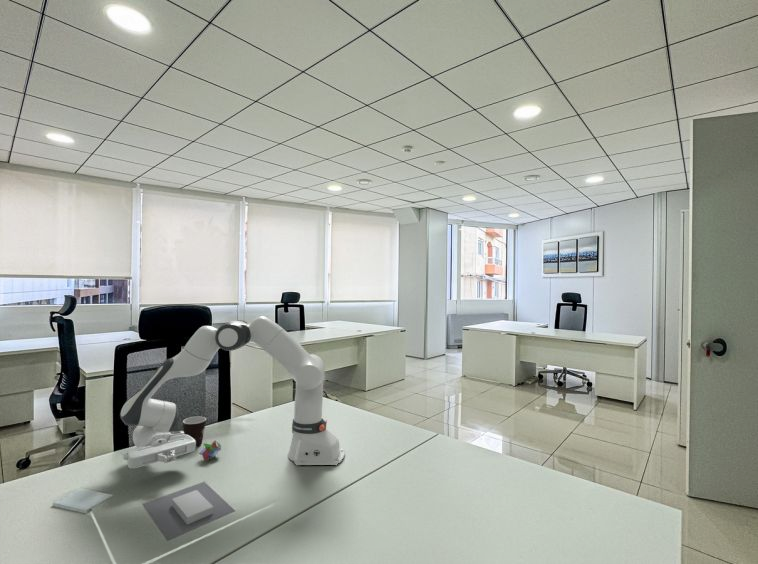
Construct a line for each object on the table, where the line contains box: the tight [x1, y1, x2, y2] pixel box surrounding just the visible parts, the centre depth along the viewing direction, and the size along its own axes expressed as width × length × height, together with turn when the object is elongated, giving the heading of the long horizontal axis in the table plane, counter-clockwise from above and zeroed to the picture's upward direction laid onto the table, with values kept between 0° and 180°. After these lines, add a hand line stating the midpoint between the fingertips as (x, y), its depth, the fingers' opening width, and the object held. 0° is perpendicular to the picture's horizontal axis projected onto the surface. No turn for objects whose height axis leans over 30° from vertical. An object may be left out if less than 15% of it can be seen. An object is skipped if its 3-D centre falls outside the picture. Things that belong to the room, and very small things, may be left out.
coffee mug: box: [182, 416, 207, 448], centre depth 150 cm, size 12×9×10 cm
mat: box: [141, 481, 236, 541], centre depth 106 cm, size 22×18×1 cm
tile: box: [172, 490, 213, 525], centre depth 105 cm, size 2×7×12 cm
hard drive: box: [52, 487, 114, 514], centre depth 108 cm, size 2×8×12 cm
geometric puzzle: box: [198, 440, 222, 462], centre depth 136 cm, size 7×7×8 cm
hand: (170, 459), depth 118 cm, fingers closed
